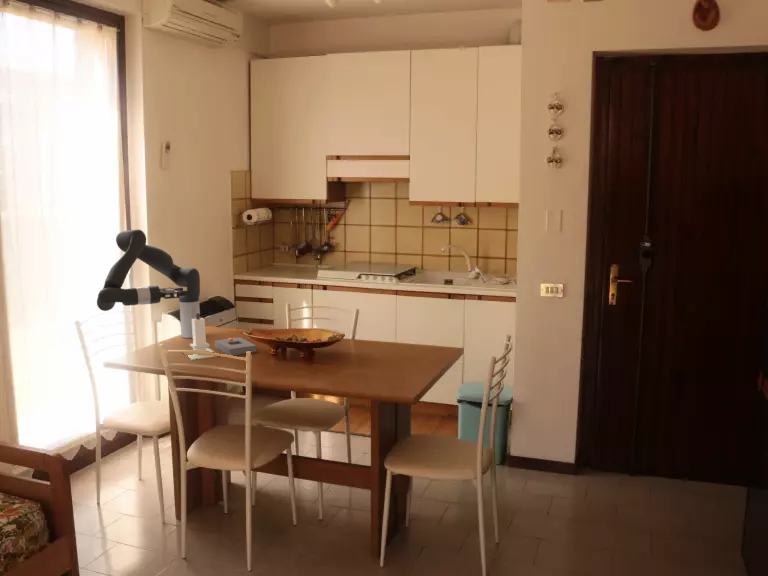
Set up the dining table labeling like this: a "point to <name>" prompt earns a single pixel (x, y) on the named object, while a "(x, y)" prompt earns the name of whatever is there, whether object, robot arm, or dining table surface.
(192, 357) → the mat
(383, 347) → the dining table surface
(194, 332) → the plug
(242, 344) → the grey slotted block
